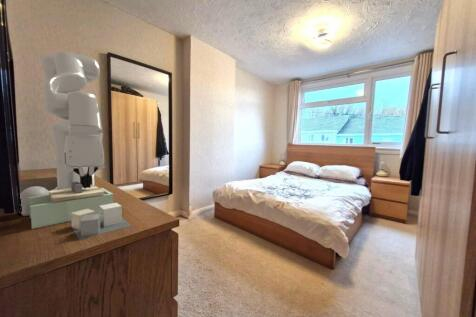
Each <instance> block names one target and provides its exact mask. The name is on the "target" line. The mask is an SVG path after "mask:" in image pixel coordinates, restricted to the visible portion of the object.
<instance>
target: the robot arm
mask: <svg viewBox="0 0 476 317" xmlns="http://www.w3.org/2000/svg"><path fill="white" fill-rule="evenodd" d="M41 63H42V69H43V74H44V77H45V79H46V81H45V84H44V85H43V91H42V93H43V101H44V102H43V103H44V107H45V109H46V111H47V112H48V113H49V114H50V115H53V116H55V117H56V118H57V119H59V120H61V121H58V122H56V123H54V124H52V126H51V135H52V139H53V142H54V149H55V159H56V160H55V161H56V162H55V163H56V164H55V165H56V182H57V187H58V188H59V190H60V189H68V188H71V182H73V181H78V182H79V183H80V184H82V187H83V188H87V187H88V188H90V187H91V186H90V185H92V175H93V174H94V175H95V173H96V172H97V171H99V170H103V169H105V168H106V165H105V152H104V147H103V146H104V145H103V138H104V137H103V136H104V128H102V120H101V113H100V110H99V108H100V107H99V104H98V99H97V96H96V95H95V94H93V93H91V92H86V91H81V90H83V89H84V88H86V86H87V83H92V82H94V81H97V80H98V78H99V77H100V73H101V67H100V65H99V63H98V61H97V60H96V59H94V58H93V57H91V56H87V55H83V54H79V53H75V52H71V51H66V50H65V51H64V50H61V51H58V52H56V53H55V55H46V56H44V57H43V59H42V62H41ZM87 166H88V170H87V173H86V170H85V167H87ZM58 188H57V189H58Z"/></svg>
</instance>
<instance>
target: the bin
mask: <svg viewBox="0 0 476 317" xmlns="http://www.w3.org/2000/svg"><path fill="white" fill-rule="evenodd" d="M99 188H100V189H101V190H103V191H105V195H98V196H91V197H85V198H78V199H72V200H65V201H58V202H53V200H52V199H51V197H50V195H45V196H37V197H29V212H30V215H29V218H30V219H31V230H33V229H39V228H44V227H49V226H52V225H57V224H61V223H66V222H67V223H68V222H72V220H71V213H72V212H76V211H80V210H84V209H90V210H93V211H95V214H99V206H101V205H106V204H112V203H115V202H114V193H113V192H111V191H109V190H107V189H106V188H104V187H99Z"/></svg>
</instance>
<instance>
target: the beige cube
mask: <svg viewBox="0 0 476 317" xmlns="http://www.w3.org/2000/svg"><path fill="white" fill-rule="evenodd" d="M92 214H95V211H93V210H90V209H84V210H80V211H76V212H72V213H71V220H72V221H71V225H72V227H73V228H76V229H78V230H81V224H80V221H81V220H82V218H83V216H84V215H92ZM72 227H71V228H72Z"/></svg>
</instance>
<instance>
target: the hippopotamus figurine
mask: <svg viewBox="0 0 476 317" xmlns="http://www.w3.org/2000/svg"><path fill="white" fill-rule="evenodd" d="M52 190H59V188H58V186H56V187H54V189H52ZM49 191H50V190H48V189H47V188H46V187H43V186H37V185H35V186H29V187H27V188H25V189H24V190H22V191H21V192H20V193H19V194H20V199H21V205H20V206H21V207H22V212H21V213H20V214H21V215H22V216H23V217H27V216H30V212H29V197H37V196H45V195H49Z"/></svg>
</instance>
